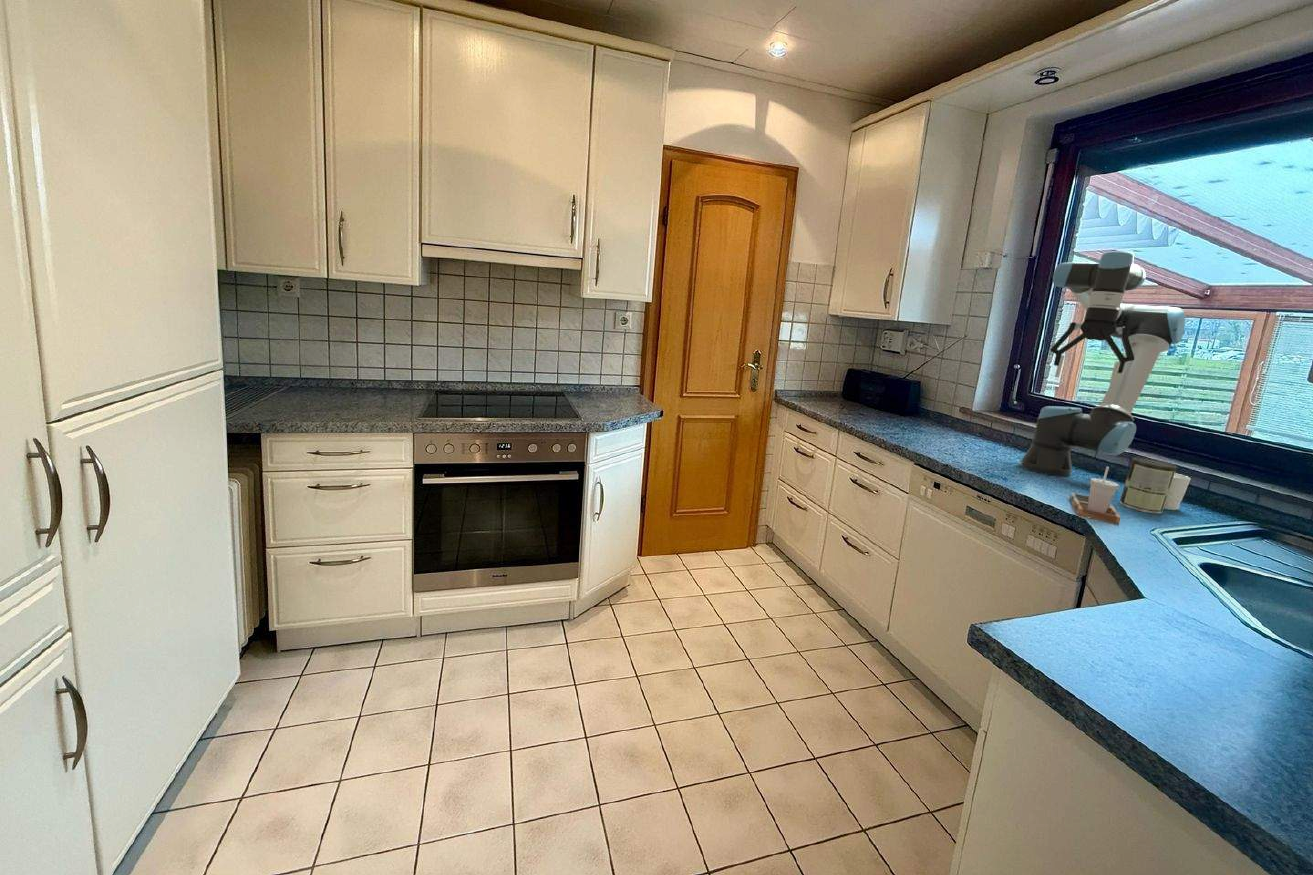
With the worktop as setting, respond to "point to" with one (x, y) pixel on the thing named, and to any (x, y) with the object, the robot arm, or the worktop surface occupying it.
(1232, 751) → the worktop surface
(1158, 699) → the worktop surface
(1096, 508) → the smoothie
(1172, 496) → the white cup
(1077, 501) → the dock rack
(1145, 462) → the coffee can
